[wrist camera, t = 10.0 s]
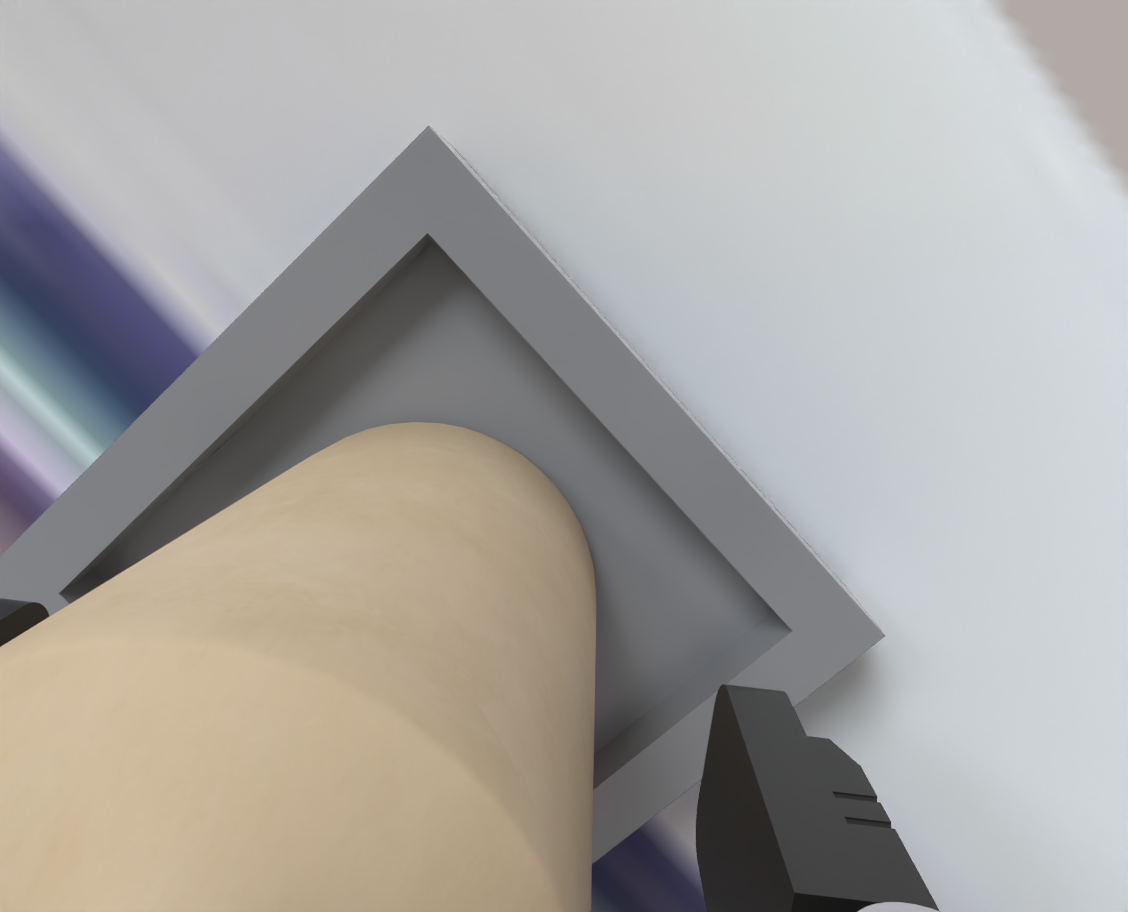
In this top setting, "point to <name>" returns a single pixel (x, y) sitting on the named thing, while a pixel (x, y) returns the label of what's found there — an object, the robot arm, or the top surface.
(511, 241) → the holder
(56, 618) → the candle
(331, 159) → the top surface
